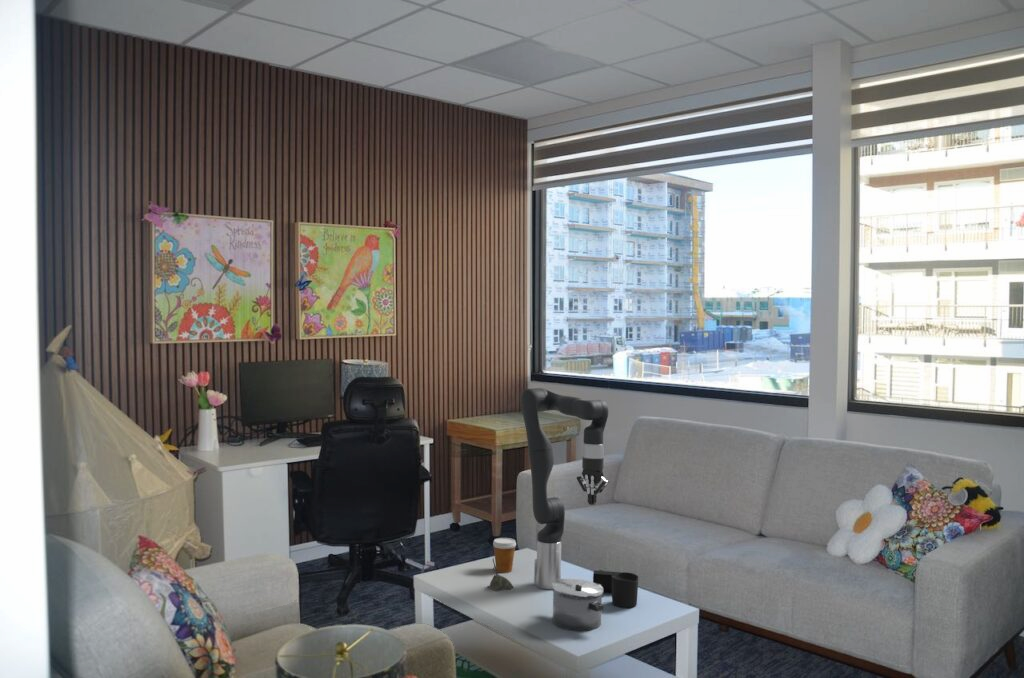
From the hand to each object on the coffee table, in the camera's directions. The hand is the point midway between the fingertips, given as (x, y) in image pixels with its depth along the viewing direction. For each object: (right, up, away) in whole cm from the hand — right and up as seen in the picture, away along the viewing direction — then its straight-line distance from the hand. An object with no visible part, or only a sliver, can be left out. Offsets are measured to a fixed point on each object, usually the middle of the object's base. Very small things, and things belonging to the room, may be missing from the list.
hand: (592, 504), depth 280 cm
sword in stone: (-33, -35, +15) cm, 50 cm away
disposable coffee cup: (-32, -34, +36) cm, 59 cm away
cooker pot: (-7, -35, -19) cm, 41 cm away
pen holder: (+11, -36, -1) cm, 37 cm away
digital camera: (+7, -35, +13) cm, 38 cm away
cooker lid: (-6, -24, -19) cm, 32 cm away
